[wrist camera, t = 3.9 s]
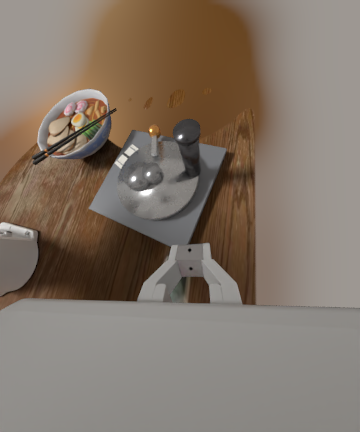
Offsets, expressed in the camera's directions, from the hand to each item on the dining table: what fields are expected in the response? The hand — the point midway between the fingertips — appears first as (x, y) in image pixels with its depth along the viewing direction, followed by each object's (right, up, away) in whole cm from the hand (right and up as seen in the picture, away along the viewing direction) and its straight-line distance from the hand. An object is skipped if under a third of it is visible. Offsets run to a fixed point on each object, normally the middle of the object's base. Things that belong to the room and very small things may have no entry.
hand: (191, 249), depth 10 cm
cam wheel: (-6, +13, +21) cm, 25 cm away
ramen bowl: (-29, +27, +32) cm, 50 cm away
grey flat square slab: (-7, +11, +23) cm, 26 cm away
